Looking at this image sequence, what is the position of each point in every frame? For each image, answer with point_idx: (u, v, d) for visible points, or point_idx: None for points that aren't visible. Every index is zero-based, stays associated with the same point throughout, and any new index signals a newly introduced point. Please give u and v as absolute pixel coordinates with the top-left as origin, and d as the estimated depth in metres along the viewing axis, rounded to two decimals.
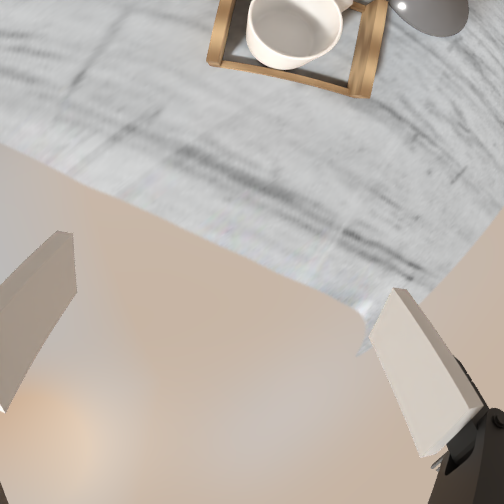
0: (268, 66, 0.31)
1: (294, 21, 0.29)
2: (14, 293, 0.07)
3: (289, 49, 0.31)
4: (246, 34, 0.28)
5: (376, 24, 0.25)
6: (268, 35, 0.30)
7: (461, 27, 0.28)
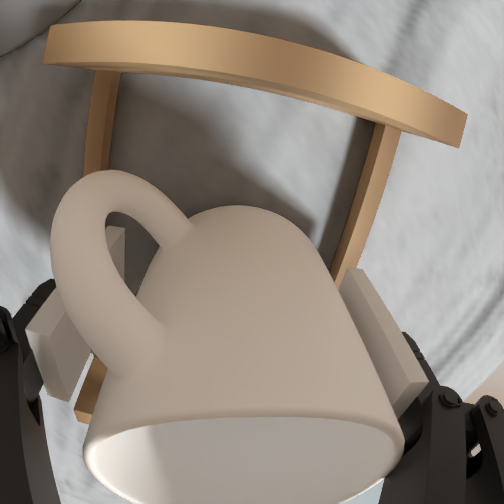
0: None
1: None
2: None
3: None
4: None
5: (164, 54, 0.07)
6: None
7: None
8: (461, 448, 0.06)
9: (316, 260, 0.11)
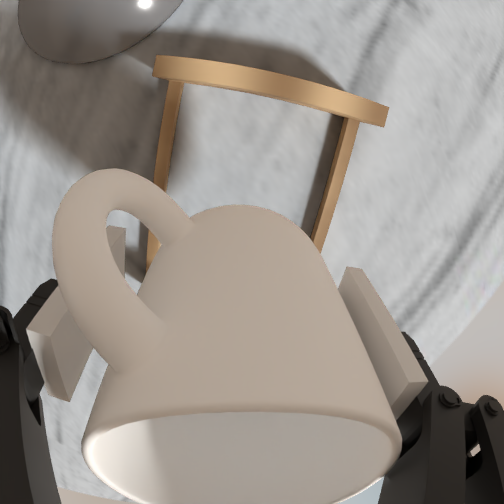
0: None
1: None
2: None
3: None
4: None
5: (223, 79, 0.14)
6: None
7: None
8: (461, 448, 0.06)
9: (316, 259, 0.11)
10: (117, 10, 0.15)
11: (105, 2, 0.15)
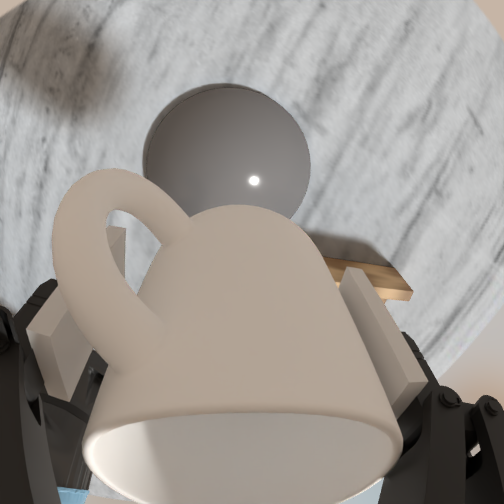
0: None
1: None
2: None
3: None
4: None
5: None
6: None
7: (279, 108, 0.26)
8: (461, 448, 0.06)
9: (317, 259, 0.11)
10: None
11: (239, 201, 0.29)
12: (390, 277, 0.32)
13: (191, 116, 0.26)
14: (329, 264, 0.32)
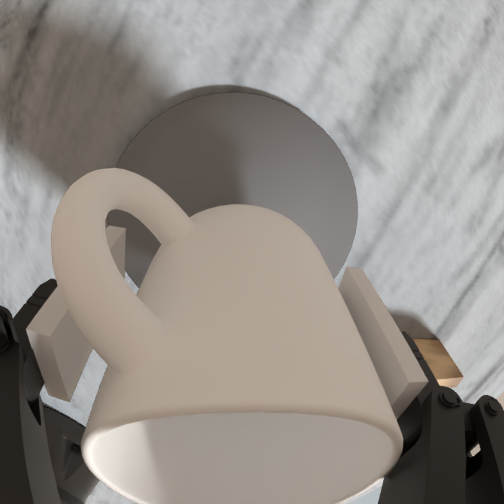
0: None
1: None
2: None
3: None
4: None
5: None
6: None
7: (317, 129, 0.16)
8: (461, 448, 0.06)
9: (316, 259, 0.11)
10: None
11: None
12: (437, 358, 0.22)
13: (174, 139, 0.16)
14: None
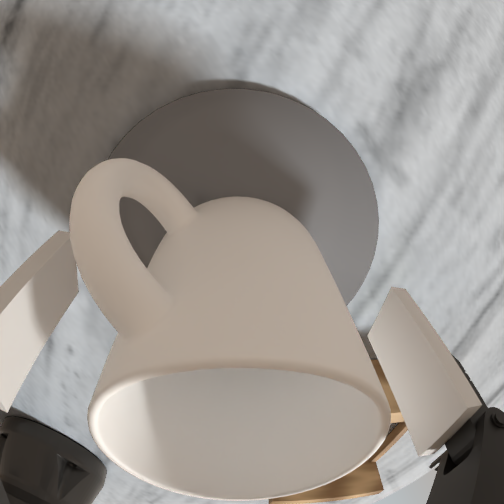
0: None
1: None
2: (16, 292, 0.07)
3: None
4: None
5: None
6: None
7: (335, 134, 0.13)
8: None
9: (311, 246, 0.12)
10: None
11: None
12: None
13: (166, 144, 0.13)
14: (380, 375, 0.19)
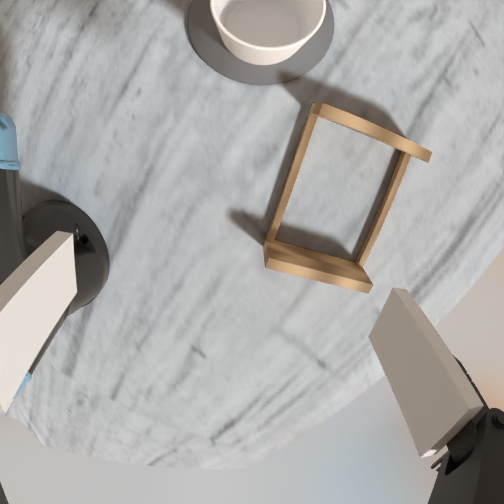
0: None
1: (240, 15, 0.25)
2: (14, 293, 0.07)
3: (277, 23, 0.26)
4: (262, 62, 0.25)
5: (356, 126, 0.27)
6: (257, 42, 0.27)
7: None
8: None
9: None
10: None
11: None
12: None
13: None
14: None
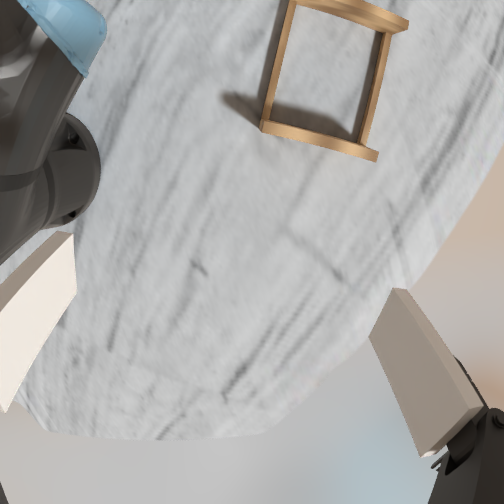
0: None
1: None
2: (14, 293, 0.07)
3: None
4: None
5: None
6: None
7: None
8: None
9: None
10: None
11: None
12: None
13: None
14: None
